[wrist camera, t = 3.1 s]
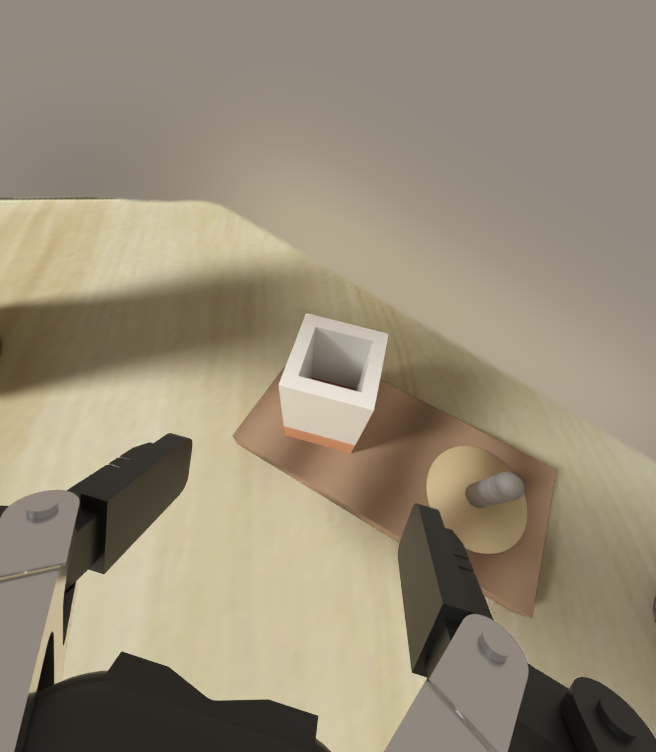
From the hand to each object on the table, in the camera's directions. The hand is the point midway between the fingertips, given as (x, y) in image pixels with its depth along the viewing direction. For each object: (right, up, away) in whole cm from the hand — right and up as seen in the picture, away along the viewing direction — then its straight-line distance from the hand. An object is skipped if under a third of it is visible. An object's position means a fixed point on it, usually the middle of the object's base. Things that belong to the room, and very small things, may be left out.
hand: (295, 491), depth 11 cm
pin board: (+6, -3, +14) cm, 15 cm away
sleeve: (+1, +1, +13) cm, 13 cm away
